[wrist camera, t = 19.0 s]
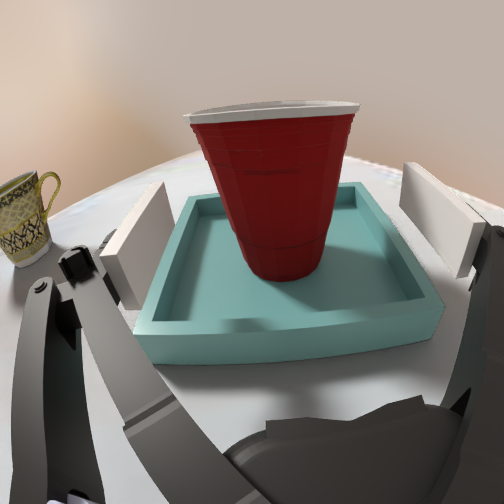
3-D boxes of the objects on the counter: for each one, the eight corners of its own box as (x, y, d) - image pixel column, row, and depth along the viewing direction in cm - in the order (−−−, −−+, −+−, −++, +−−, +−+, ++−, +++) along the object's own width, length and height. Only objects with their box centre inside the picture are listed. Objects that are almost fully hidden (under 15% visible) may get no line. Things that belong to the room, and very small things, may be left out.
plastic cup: (348, 223, 26) (350, 90, 19) (358, 310, 17) (377, 110, 11) (234, 221, 28) (214, 97, 22) (196, 301, 20) (147, 125, 13)
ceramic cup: (-2, 285, 26) (-37, 218, 20) (16, 247, 34) (-9, 190, 28) (76, 253, 30) (45, 174, 24) (84, 218, 37) (62, 155, 32)
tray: (150, 363, 17) (132, 334, 15) (194, 221, 32) (188, 196, 30) (430, 339, 16) (445, 306, 14) (359, 207, 30) (360, 181, 29)
